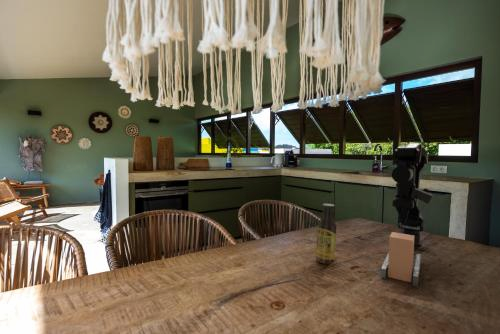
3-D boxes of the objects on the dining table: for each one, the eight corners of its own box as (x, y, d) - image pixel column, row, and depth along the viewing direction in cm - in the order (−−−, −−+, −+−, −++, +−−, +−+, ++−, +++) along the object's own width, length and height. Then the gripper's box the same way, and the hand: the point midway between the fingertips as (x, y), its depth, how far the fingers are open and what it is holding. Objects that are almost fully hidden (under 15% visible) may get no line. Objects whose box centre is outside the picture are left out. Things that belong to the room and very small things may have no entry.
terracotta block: (390, 269, 86) (392, 232, 86) (412, 274, 83) (414, 235, 82) (387, 276, 81) (389, 236, 81) (411, 282, 78) (413, 240, 77)
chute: (389, 259, 97) (390, 248, 97) (420, 266, 92) (420, 254, 92) (380, 281, 81) (381, 268, 81) (417, 290, 76) (418, 276, 76)
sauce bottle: (312, 261, 95) (314, 204, 94) (321, 256, 100) (322, 201, 99) (330, 266, 91) (332, 207, 90) (338, 261, 95) (340, 204, 94)
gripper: (432, 185, 88) (429, 233, 89) (432, 180, 104) (429, 221, 105) (393, 182, 95) (391, 227, 95) (398, 178, 110) (396, 217, 111)
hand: (403, 223), depth 101 cm, fingers closed
